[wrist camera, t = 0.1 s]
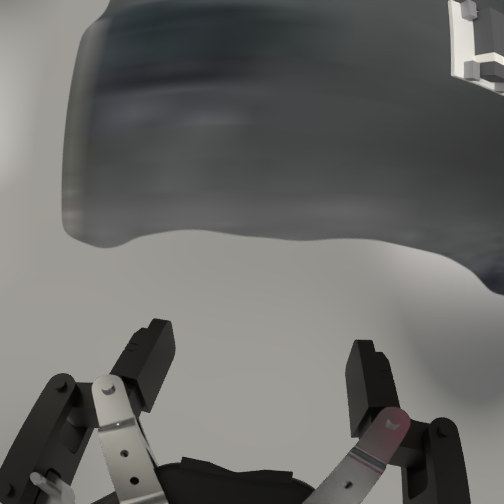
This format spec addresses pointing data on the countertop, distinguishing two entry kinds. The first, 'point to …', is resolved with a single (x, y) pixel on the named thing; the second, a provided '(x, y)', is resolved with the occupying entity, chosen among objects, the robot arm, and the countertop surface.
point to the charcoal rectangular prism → (489, 44)
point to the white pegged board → (466, 46)
